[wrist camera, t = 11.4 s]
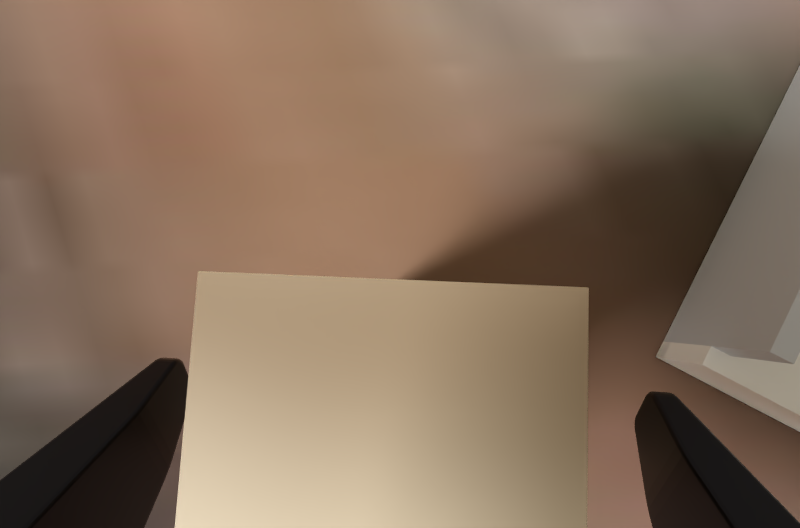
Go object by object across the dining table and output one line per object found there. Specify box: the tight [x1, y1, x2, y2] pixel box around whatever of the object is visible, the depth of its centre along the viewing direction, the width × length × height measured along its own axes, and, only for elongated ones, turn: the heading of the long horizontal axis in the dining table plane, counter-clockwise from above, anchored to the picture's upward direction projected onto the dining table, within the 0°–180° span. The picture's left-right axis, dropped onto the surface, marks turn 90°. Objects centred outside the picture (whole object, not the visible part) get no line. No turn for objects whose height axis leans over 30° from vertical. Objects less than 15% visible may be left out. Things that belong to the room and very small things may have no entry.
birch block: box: [175, 271, 589, 528], centre depth 11 cm, size 4×4×13 cm
